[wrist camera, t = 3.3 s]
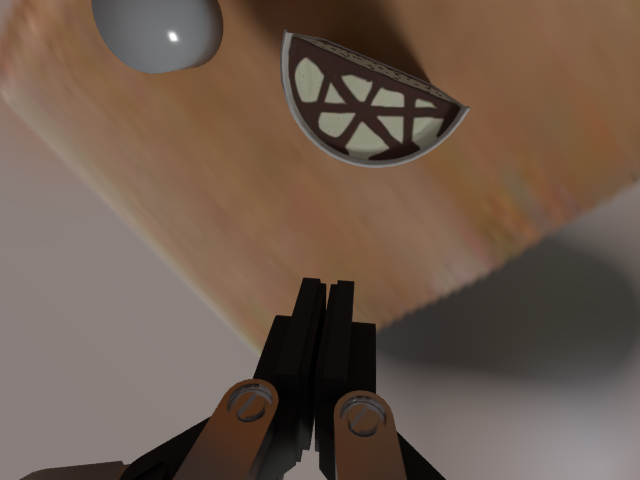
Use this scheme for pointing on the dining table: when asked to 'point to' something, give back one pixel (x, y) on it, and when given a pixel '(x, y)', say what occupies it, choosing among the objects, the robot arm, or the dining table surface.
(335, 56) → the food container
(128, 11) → the grey glossy rounded part
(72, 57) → the dining table surface
